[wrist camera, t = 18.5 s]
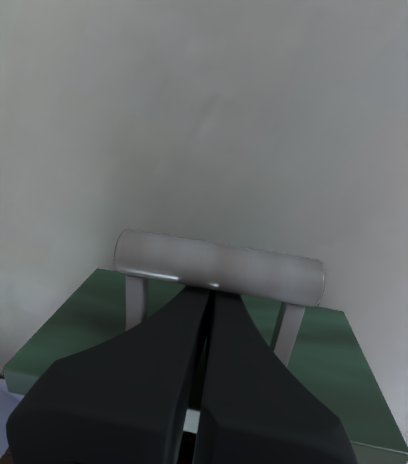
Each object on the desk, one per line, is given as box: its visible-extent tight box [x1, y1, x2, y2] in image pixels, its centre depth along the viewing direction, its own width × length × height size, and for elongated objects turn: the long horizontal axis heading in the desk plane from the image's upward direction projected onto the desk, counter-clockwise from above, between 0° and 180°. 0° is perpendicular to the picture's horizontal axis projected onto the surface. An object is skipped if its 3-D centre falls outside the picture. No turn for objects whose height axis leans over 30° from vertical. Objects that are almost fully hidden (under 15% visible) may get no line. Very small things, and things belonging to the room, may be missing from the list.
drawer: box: [3, 229, 408, 464], centre depth 13 cm, size 17×13×7 cm
